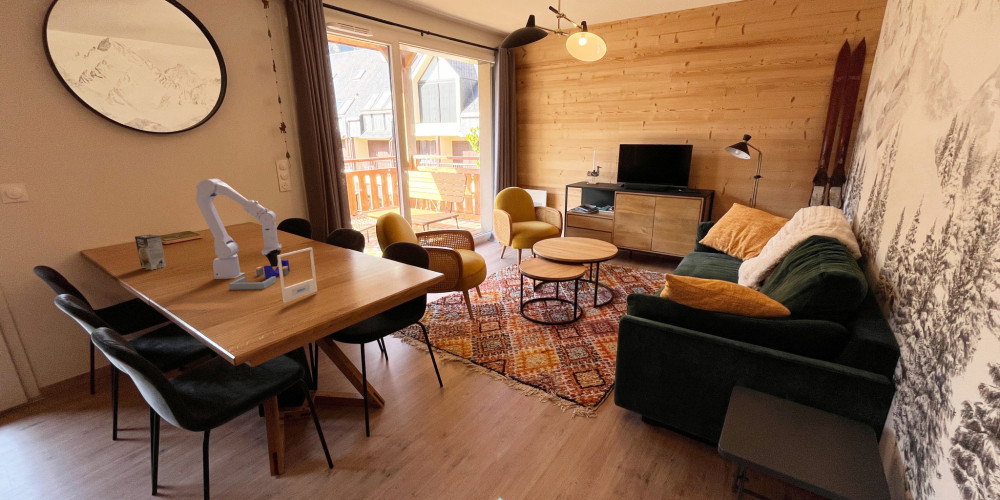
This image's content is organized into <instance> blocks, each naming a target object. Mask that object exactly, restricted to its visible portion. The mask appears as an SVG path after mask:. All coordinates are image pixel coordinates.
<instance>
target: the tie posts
mask: <svg viewBox="0 0 1000 500" xmlns="http://www.w3.org/2000/svg"><path fill="white" fill-rule="evenodd" d="M255 271H256V272H255V273H256V276H257V277H260V276H262V275H264V266H258V267H255ZM282 271H283V276H287V275H288V274H290V273H289V272H290V271H289V272H288V266H284V267H282Z"/></svg>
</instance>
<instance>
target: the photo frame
mask: <svg viewBox="0 0 1000 500" xmlns="http://www.w3.org/2000/svg"><path fill="white" fill-rule="evenodd" d="M308 251H309V255H310V256H309V257H310V264H311V274H312V278H310V279H307V280H304V281H301V282H297V283H295V284H291V285H289V286H285V282H284V281H285V279H284V275H283V271H282V263H281V260H282V258H283V257H287V256H290V255H291V256H292V255H295V254H299V253H303V252H308ZM277 258H278V265H277V267H278V266H279V273H280V276H279V280H280V287H281V295H282V302H283V303H284V304H285V303H288V302H291V301H293V300H294V301H295V300H298V299H300V298H302V297H304V296H308V295H311V294H313V293H316V292H318V286H317V277H316V268H315V267H316V266H315V259H314V249H313V247H307V248H303V249H299V250H294V251H291V252H287V253H286V252H285V253H282V254H281V253H280V255H277Z"/></svg>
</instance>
